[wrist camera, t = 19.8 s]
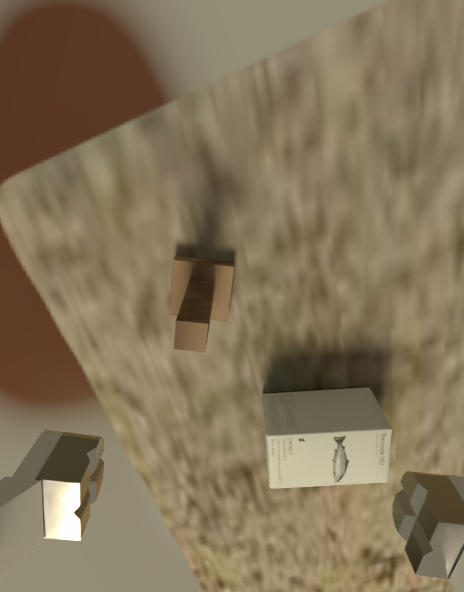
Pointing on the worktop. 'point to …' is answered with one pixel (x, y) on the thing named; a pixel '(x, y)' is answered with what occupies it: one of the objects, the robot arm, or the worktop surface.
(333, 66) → the worktop surface
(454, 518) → the robot arm
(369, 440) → the supplement box
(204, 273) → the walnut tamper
